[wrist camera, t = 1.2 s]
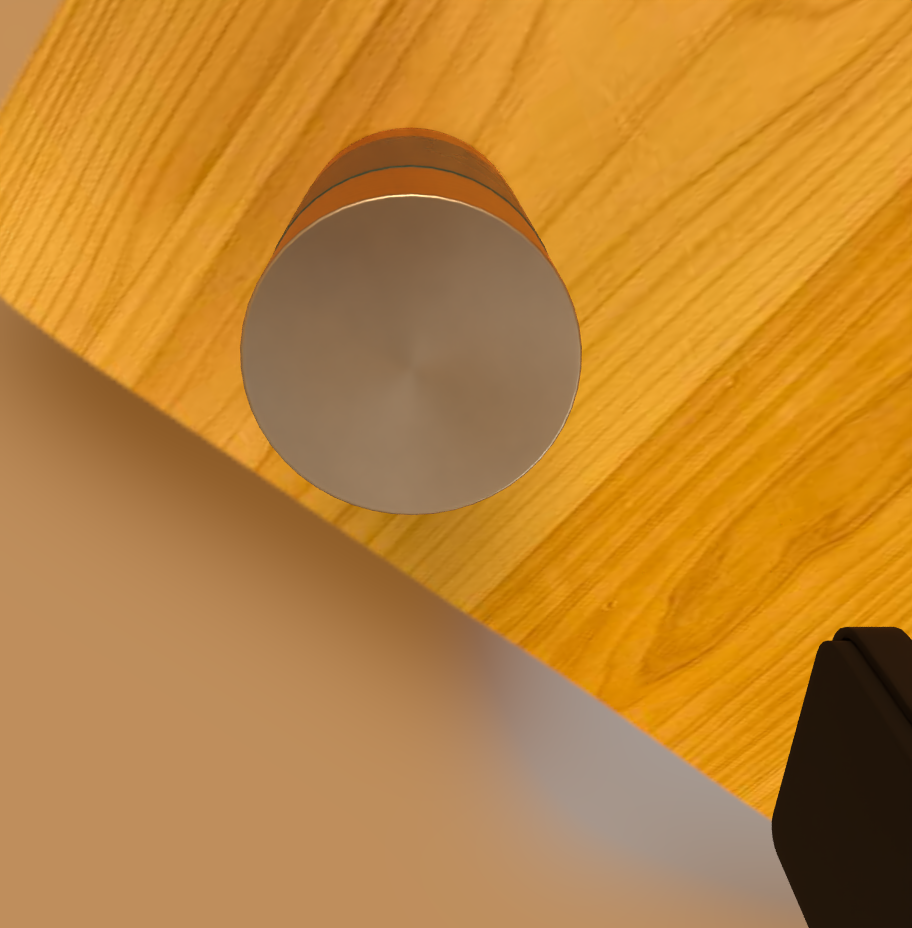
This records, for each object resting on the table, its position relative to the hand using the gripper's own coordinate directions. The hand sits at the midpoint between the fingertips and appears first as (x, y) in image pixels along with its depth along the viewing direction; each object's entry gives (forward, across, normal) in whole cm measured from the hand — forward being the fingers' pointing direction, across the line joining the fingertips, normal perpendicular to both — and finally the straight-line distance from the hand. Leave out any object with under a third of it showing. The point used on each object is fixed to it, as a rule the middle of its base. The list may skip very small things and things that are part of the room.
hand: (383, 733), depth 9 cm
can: (+19, 0, -1) cm, 19 cm away
